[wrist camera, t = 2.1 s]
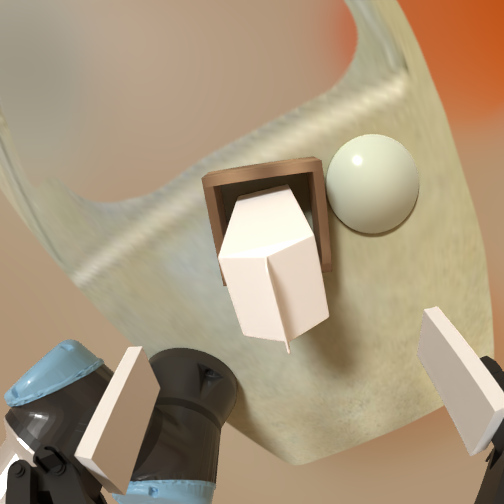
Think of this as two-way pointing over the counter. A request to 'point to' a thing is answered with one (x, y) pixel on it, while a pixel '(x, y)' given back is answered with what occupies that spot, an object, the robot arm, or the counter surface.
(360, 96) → the counter surface
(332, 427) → the counter surface
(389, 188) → the cream glossy dome
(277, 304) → the milk
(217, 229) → the sleeve
